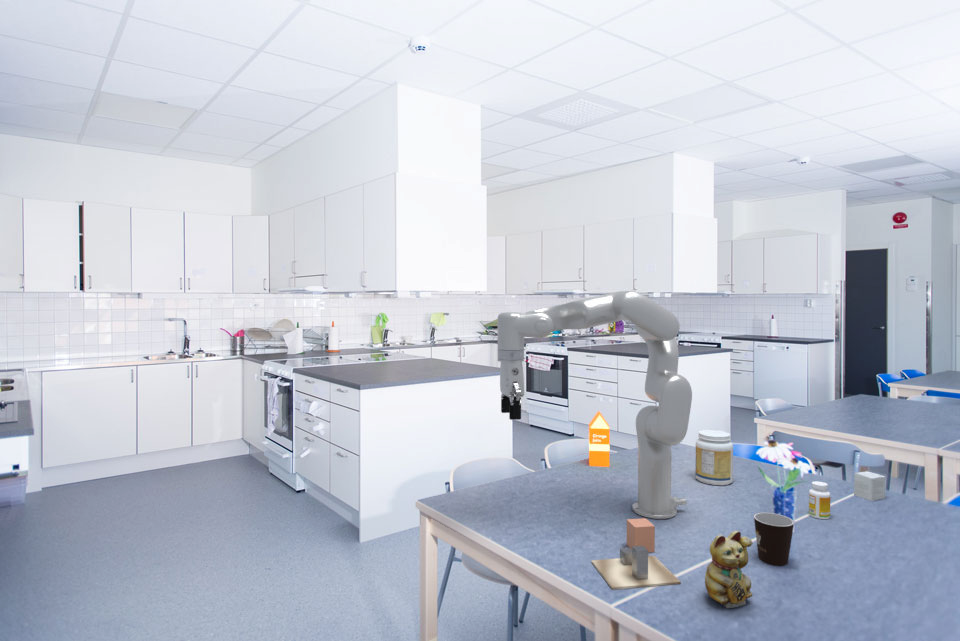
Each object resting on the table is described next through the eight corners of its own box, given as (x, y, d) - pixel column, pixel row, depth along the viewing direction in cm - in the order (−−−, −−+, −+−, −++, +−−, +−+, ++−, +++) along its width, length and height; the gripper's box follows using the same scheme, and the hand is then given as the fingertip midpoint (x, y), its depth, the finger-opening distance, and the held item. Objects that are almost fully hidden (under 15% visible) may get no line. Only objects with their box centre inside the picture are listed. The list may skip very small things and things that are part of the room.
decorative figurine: (724, 614, 112) (724, 540, 112) (693, 594, 120) (693, 525, 119) (758, 604, 116) (759, 532, 116) (726, 585, 124) (727, 518, 123)
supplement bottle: (832, 516, 164) (832, 483, 163) (827, 521, 160) (828, 487, 159) (811, 511, 167) (811, 479, 167) (806, 516, 163) (807, 483, 163)
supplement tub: (700, 473, 205) (700, 427, 204) (736, 479, 198) (736, 432, 197) (691, 482, 195) (691, 433, 194) (728, 488, 188) (729, 438, 187)
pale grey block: (867, 492, 184) (867, 470, 183) (885, 499, 178) (886, 476, 178) (853, 495, 182) (853, 472, 181) (871, 501, 176) (872, 478, 176)
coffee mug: (792, 571, 130) (792, 529, 130) (751, 562, 134) (751, 521, 134) (794, 552, 140) (795, 513, 139) (756, 544, 144) (757, 506, 144)
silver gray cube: (630, 559, 135) (630, 547, 135) (634, 564, 132) (634, 552, 132) (619, 560, 135) (619, 548, 134) (624, 565, 132) (624, 553, 132)
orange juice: (589, 466, 214) (589, 414, 214) (588, 459, 223) (588, 409, 223) (610, 466, 213) (610, 414, 213) (608, 460, 222) (608, 410, 221)
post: (642, 573, 128) (643, 545, 128) (648, 579, 125) (648, 550, 125) (632, 574, 128) (632, 546, 127) (637, 580, 125) (637, 551, 125)
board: (653, 557, 137) (653, 555, 137) (680, 583, 124) (680, 581, 124) (591, 562, 135) (591, 560, 135) (612, 589, 122) (612, 587, 122)
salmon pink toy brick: (645, 543, 145) (645, 518, 145) (654, 552, 140) (654, 526, 140) (626, 544, 145) (626, 519, 144) (635, 553, 140) (635, 527, 139)
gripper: (532, 358, 151) (532, 421, 151) (515, 353, 168) (515, 409, 168) (505, 359, 149) (505, 422, 150) (491, 353, 166) (491, 410, 167)
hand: (510, 415), depth 159 cm, fingers open, 9 cm apart
